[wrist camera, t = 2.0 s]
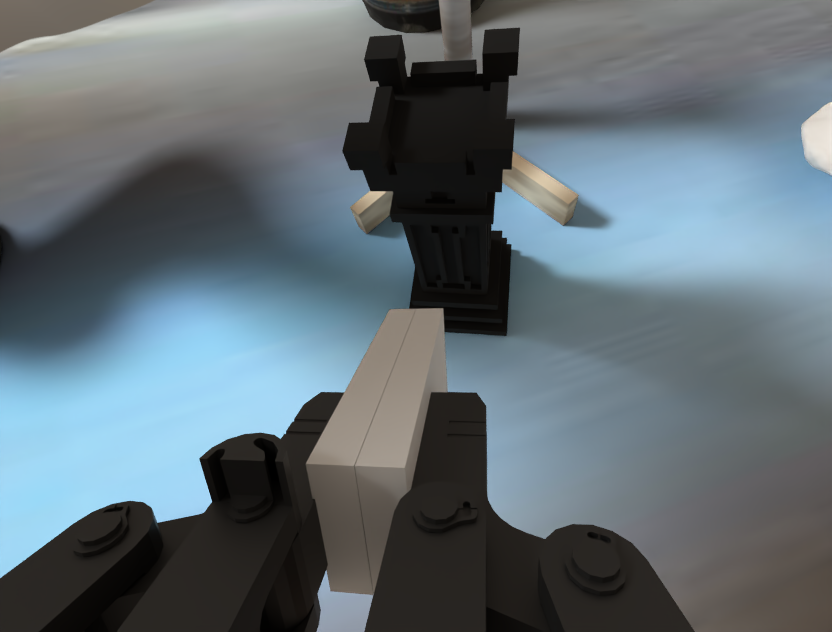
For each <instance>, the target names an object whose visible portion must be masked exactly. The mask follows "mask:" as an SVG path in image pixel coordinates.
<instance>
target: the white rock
mask: <svg viewBox="0 0 832 632" xmlns="http://www.w3.org/2000/svg"><path fill="white" fill-rule="evenodd" d="M801 137H802V141H803V148H804V155H805V159H806V160H807V162H808V163H809V164H810V165H811V166H812V167H814V168H815V169H818V170H820V171H823V172H825V173H827V174H829V175H831V176H832V102H830V103H828V104H826V105H825V106H823V107H822V108H821V109H820V110H819V111H818V112H816V113H815V114H813V115H812V116H811V117H809V118H808V120H806V121H805V122H804V123H803V124H802V126H801Z"/></svg>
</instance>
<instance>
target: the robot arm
mask: <svg viewBox="0 0 832 632" xmlns="http://www.w3.org/2000/svg"><path fill="white" fill-rule="evenodd" d="M1 251H2V245H1V239H0V258H1ZM199 459H200V462H201V466H202V469H203V472H204V476H205V479H206V482H207V486H208V489H209V492H210V496H211V499H212V503H211V504H210V506H209V507H208V508H207V510H206V511H205V512H204V513H202V514H199V515H194V516H189V517H184V518H179V519H175V520H170V521H165V522H160V523H157V521H156V518H155V516H154V513H153V510H152V508H151V507H149V506H148V505H146V504H145V503H144V502H135V501H126V502H121V503H116V504H111V505H109V506H106V507H104V508H101V509H99V510H96V511H94V512H92V513H90V514H89V515H87V516H85V517H84V518H82V519H80V520H79V521H77V522H76V523H74V524H73V525H71V526H70V527H69V528H67V529H66V530H65V531H63V532H62V533H61V534H59V535H58V536H57V537H55V538H54V539H53V540H51V541H50V542H48V543H47V544H46V545H44V546H43V547H42V548H40V549H39V550H38V551H36V552H35V553H34V554H32V555H31V556H30V557H28V558H27V559H26V560H24V561H23V562H22V563H20V564H19V565H18V566H16V567H15V568H14V569H12V570H11V571H10V572H8V573H7V574H6V575H4V576H3V577H2V578H0V632H316V631H317V628H318V625H319V619H320V611H321V609H320V605H319V600H318V595H317V593H318V590H319V588H320V585H321V582H322V580H323V577H324V574H325V571H326V570H327V575H328V580H329V585H330V590H331V591H335V592H346V593H358V594H370V595H373V594H374V595H373V599H372V603H371V607H370V611H369V615H368V619H367V623H366V628H365V632H695V631H694V630H693V628H692V627H691V625H690V624H689V622H688V621H687V619H686V618H685V616H684V615H683V613H682V612H681V610H680V609H679V607H678V606H677V604H676V603H675V601H674V600H673V598H672V597H671V595H670V594H669V592H668V591H667V589H666V588H665V586H664V585H663V583H662V582H661V580H660V579H659V577H658V576H657V574H656V573H655V571H654V570H653V568H652V567H651V565H650V564H649V562H648V561H647V559H646V558H645V557H644V556H643V555H642V554H641V553H640V552H639V550H638V549H637V548H636V547H635V546H634V545H633V544H632V543H631V542H629V541H627V540H626V539H624V538H623V537H621V536H619V535H618V534H616V533H615V532H613V531H610V530H607V529H604V528H601V527H597V526H594V525H578V524H572V525H569V526H566V527H563V528H559V529H556V530H555V531H554V532H553V533H551V534H550V535H549V536H548V537H547V538H546V539H543V538H540V537H537V536H534V535H531V534H528V533H525V532H523V531H521V530H519V529H516V528H514V527H512V526H511V525H509V524H508V523H506V522H505V521H504V520H502V519H501V518H500V517H499V516H498V515H497V514H496V513H495V511H494V510H493V509H492V507H491V505H490V503H489V501H488V497H487V432H486V405H485V404H484V402H483V401H482V400H481V398H480V397H479V396H478V394H477V393H462V392H448V391H447V371H446V352H445V333H444V314H443V308H432V309H390V310H389V312H388V313H387V315H386V317H385V319H384V321H383V323H382V324H381V326H380V328H379V330H378V332H377V334H376V335H375V337H374V339H373V341H372V343H371V345H370V346H369V348H368V350H367V352H366V354H365V356H364V357H363V359H362V361H361V363H360V365H359V367H358V369H357V370H356V372H355V374H354V376H353V378H352V380H351V381H350V383H349V385H348V387H347V389H346V391H345V392H344V393H341V392H321V393H319V394H318V395H316V396H315V397H314V398H312V399H311V400H310V401H308V402H307V403H305V404H304V405H303V407H302V408H301V410H300V411H299V413H298V414H297V416H296V417H295V419H294V422H292V423H291V425H290V426H289V428H288V429H287V431H286V434H284V435H283V437H282V438H281V439H280V438H278V437H276V436H275V435H271V434H265V433H253V434H244V435H241V436H237V437H234V438H231V439H228V440H226V441H224V442H222V443H220V444H218V445H216V446H214V447H212V448H211V449H210V450H209V451H208V452H206V453H205V454H204V455H203V456H202V457H201V458H199Z"/></svg>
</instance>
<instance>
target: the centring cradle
mask: <svg viewBox="0 0 832 632" xmlns="http://www.w3.org/2000/svg"><path fill="white" fill-rule="evenodd" d="M439 6H440V16H441V26H442V36H443V46H444V56H445V61H457V60H473V57H472V32H471V7H470V0H439ZM502 182H503V183H504V184H505V185H507V186H508V187H510V188H511V189H512V190H514V191H515V192H517V193H518V194H519V195H521V196H522V197H524V198H525V199H526V200H528V201H529V202H531V203H532V204H533V205H535V206H536V207H538V208H539V209H540V210H542V211H543V212H545V213H546V214H547V215H549V216H550V217H552V218H553V219H554V220H556V221H557V222H559V223H560V224H561V225H565V224H566V223H567V222H568V221H569V220H570V219H571V218H572V217H573V214H574V210H575V206H576V203H577V199H578V196H579V195H578V194H576V193H575V192H573V191H572V190H570V189H569V188H567V187H566V186H564V185H563V184H561V183H560V182H558V181H557V180H555V179H554V178H552V177H551V176H549V175H548V174H546V173H545V172H543V171H542V170H540V169H539V168H537V167H536V166H534V165H533V164H531V163H530V162H528V161H527V160H525V159H524V158H522V157H521V156H519V155H518V154H516V153H515V152H513V157H512V170H503V178H502ZM392 196H393V191H369V192H368V193H367V194H366V195H365V196H363V197H362V198H361V199H360V200H358V201H357V202H356V203H355V204H354V205H352V206H351V207H350V208H351V210H352V213H353V215H354V217H355V219H356V221H357V224H358V226H359V227H360V228H361V229H362V230H363V231H364V232H365V233H366V234H368V233H369V232H370V231H371V230H373V229H374V228H375V227H376V226H377V225H379V224H380V223H381V222H382V221H383V220H385V219H386V218H387V217H388V216H389V215H390V214H389V213H390V208H391V202H392Z"/></svg>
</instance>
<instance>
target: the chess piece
mask: <svg viewBox="0 0 832 632" xmlns="http://www.w3.org/2000/svg"><path fill="white" fill-rule="evenodd" d="M519 34H520V28H507V29H490V30H485V33H484V43H483V54H482V55H483V74H477V65H476V60H457V61H436V62H415V63H412V68H411V73H410V75H411V77H407V73H406V67H405V59H406V56H405V51H404V45H403V40H402V35H391V36H374V37H370V38H369V42H368V46H367V50H366V55H365V59H364V60H365V64H366V68H367V71H368V75H369V78H370V81H378V83H379V87H377V88H376V93H375V97H374V102H373V106H372V111H371V116H370V120H369V122H367V123H349V125H348V130H347V134H346V138H345V142H344V146H343V154H344V156H345V159H346V161H347V163H348V166H349V168H350V170H363V172H364V175H365V177H366V180H367V183H368V186H369V188H370V191H393V196H392V202H391V208H390V213H389V214H390V217H391V220H392V222H402V224H403V227H404V231H405V234H406V237H407V240H408V244H409V247H410V250H411V254H412V257H413V260H414V263H415V272H414V279H413V286H412V293H411V300H410V307H409V309H432V308H443V314H444V332H455V333H471V334H486V335H502V336H506V335H507V318H508V299H509V280H510V261H511V244H507V238H502V231H491V224H493V219H494V205H495V192H502V178H503V170H512V157H513V140H514V123H515V119H506V117H507V102H508V84H509V76H514V75H517V68H518V52H519Z"/></svg>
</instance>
